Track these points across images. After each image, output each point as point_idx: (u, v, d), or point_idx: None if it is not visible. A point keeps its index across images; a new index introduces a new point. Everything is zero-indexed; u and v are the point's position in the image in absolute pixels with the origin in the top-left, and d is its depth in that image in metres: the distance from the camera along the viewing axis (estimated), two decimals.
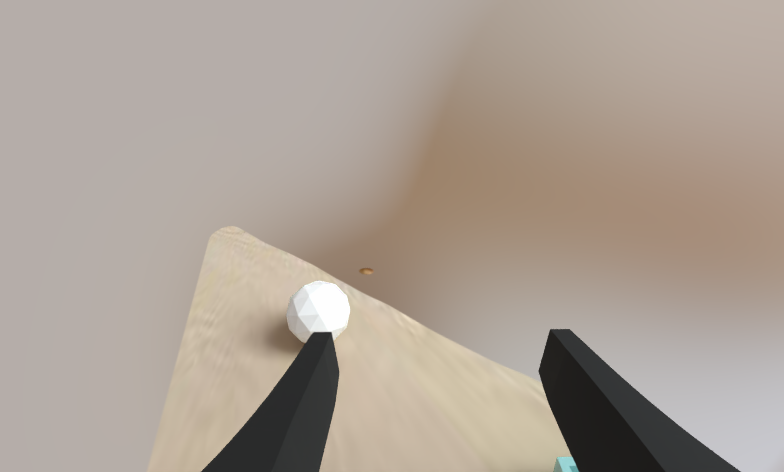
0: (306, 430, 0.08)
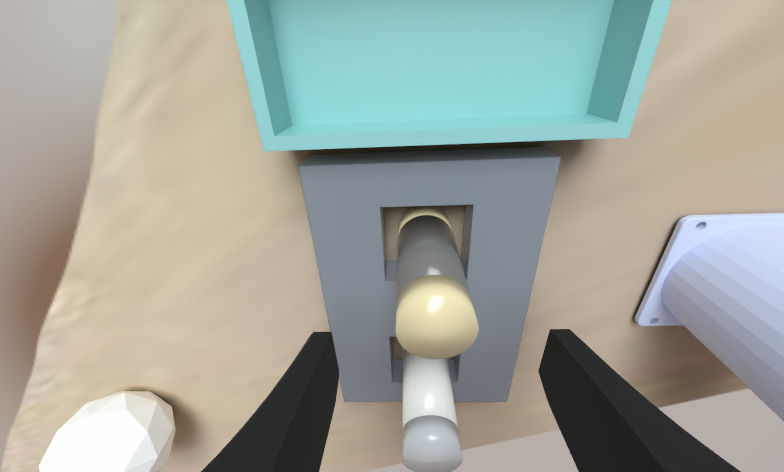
0: (306, 430, 0.08)
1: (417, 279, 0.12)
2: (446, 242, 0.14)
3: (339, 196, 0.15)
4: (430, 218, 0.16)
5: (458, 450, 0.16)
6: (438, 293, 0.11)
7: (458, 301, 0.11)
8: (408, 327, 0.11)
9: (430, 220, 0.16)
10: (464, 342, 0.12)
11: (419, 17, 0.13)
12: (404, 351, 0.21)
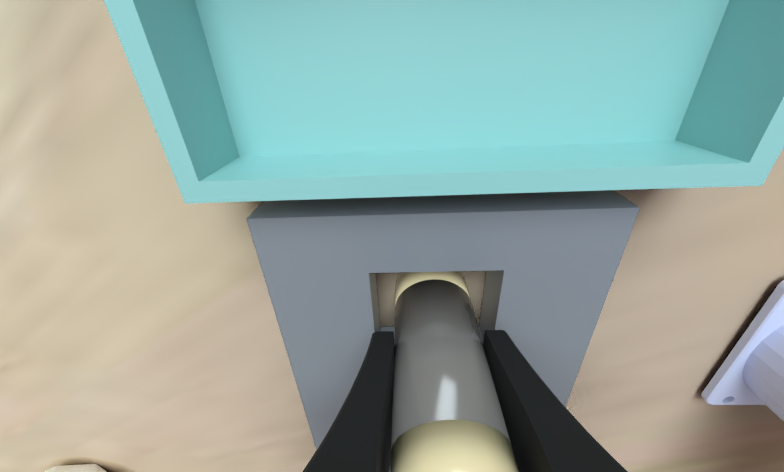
0: (385, 430, 0.08)
1: (425, 426, 0.07)
2: (467, 334, 0.10)
3: (309, 259, 0.11)
4: (440, 285, 0.11)
5: None
6: None
7: None
8: None
9: (441, 290, 0.11)
10: None
11: None
12: None
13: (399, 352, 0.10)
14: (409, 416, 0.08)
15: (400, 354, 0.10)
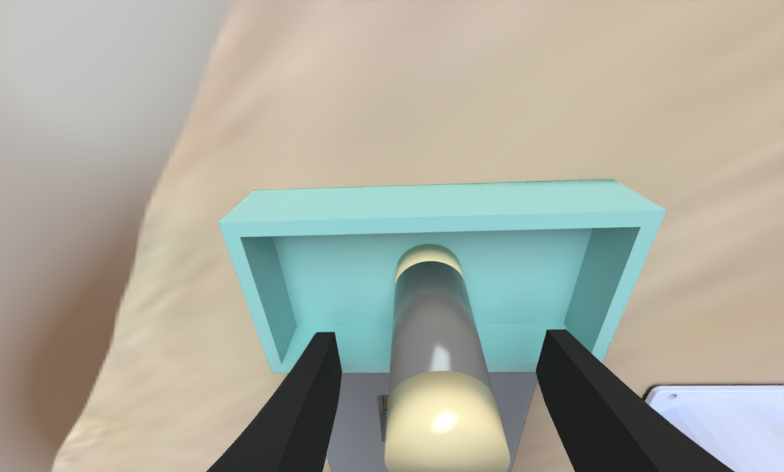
0: (310, 430, 0.08)
1: (418, 376, 0.08)
2: (459, 306, 0.11)
3: None
4: (436, 266, 0.12)
5: None
6: (449, 410, 0.07)
7: (480, 426, 0.07)
8: (403, 456, 0.08)
9: (437, 270, 0.12)
10: None
11: None
12: None
13: (397, 322, 0.11)
14: (404, 370, 0.09)
15: (398, 324, 0.11)
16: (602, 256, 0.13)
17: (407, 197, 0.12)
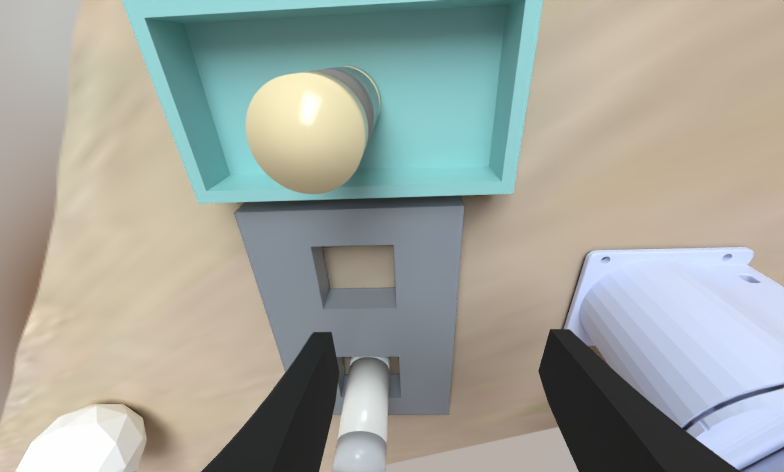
0: (306, 430, 0.08)
1: None
2: (352, 74, 0.11)
3: (273, 237, 0.17)
4: (345, 67, 0.13)
5: (381, 463, 0.17)
6: (299, 73, 0.08)
7: (325, 80, 0.07)
8: (263, 132, 0.08)
9: (343, 67, 0.13)
10: (348, 160, 0.08)
11: None
12: (349, 369, 0.23)
13: None
14: None
15: None
16: (507, 61, 0.13)
17: None
